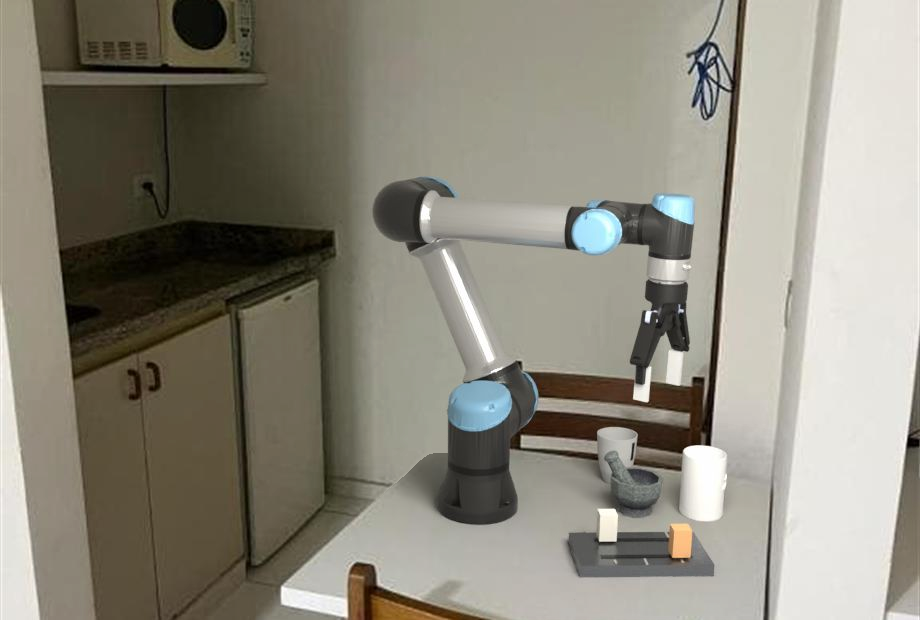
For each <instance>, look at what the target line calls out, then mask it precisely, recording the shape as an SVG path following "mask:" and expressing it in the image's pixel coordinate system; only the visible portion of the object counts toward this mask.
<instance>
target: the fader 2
mask: <svg viewBox="0 0 920 620" xmlns="http://www.w3.org/2000/svg"><path fill="white" fill-rule="evenodd" d="M668 532H669V547H668V551H669V553H670V554H671V556H672V558H690V557H691V543H692V532H693V530H692V527H691V526H690V525H689V523H669V531H668Z"/></svg>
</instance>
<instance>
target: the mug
mask: <svg viewBox="0 0 920 620" xmlns="http://www.w3.org/2000/svg"><path fill="white" fill-rule="evenodd" d="M681 458H682V461H681V474H680V475H681V476H680V491H679V507H678V511H679V513H680V515H682V516H684V517H685V518H686V519H690V520H691V521H697V522H707V523H708V522H709V523H710V522H716V521H719V520H720V519H721V518H722V516H723V513H724V499H725V489H726V488H727V480H728V479H727V478H728V475H727V463H728V454H727V453H726V452H725V451H724V450H722V449H720V448H718V447H715V446H710V445H699V444H698V445H690V446H687V447H685V448H684V449H683V450H682V457H681Z"/></svg>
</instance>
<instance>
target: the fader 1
mask: <svg viewBox="0 0 920 620" xmlns="http://www.w3.org/2000/svg"><path fill="white" fill-rule="evenodd" d="M596 510H597V513H596V535H597V538H598V540H599V542H611V541H617V532H618V524H619V523H618V522H619V521H618V520H619V514H618V513H617V511H616V509H615V508H597V509H596Z"/></svg>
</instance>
